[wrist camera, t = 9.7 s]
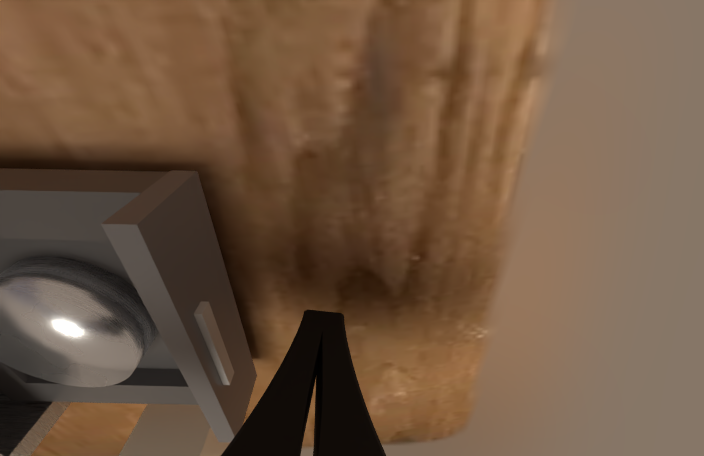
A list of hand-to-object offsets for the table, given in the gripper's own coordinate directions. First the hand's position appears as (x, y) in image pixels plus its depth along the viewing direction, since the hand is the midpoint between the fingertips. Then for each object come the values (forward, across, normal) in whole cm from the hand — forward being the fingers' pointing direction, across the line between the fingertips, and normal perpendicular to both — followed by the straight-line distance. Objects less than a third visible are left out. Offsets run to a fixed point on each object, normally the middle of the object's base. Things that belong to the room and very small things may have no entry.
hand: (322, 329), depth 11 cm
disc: (+1, +9, +1) cm, 9 cm away
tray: (+1, +9, +1) cm, 9 cm away
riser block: (+2, +7, +12) cm, 14 cm away
